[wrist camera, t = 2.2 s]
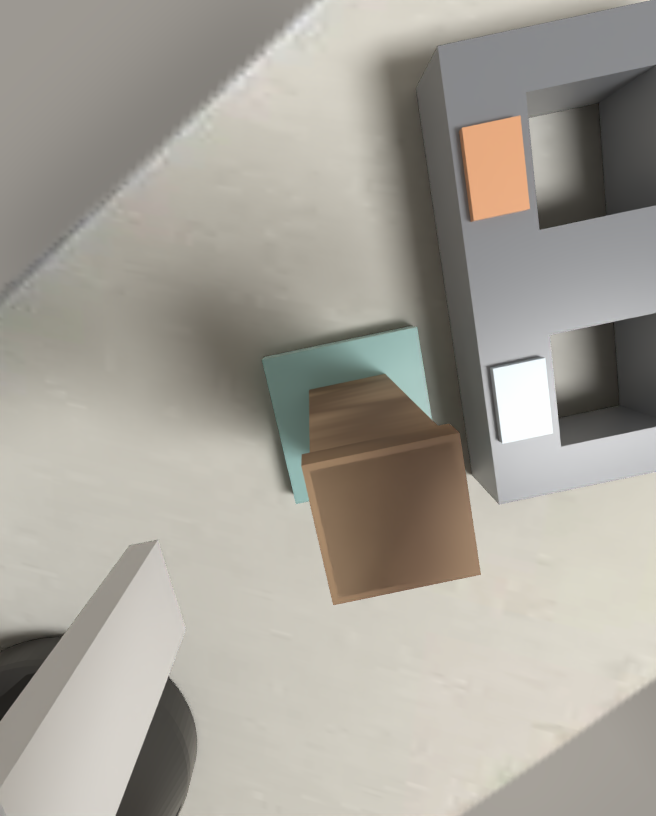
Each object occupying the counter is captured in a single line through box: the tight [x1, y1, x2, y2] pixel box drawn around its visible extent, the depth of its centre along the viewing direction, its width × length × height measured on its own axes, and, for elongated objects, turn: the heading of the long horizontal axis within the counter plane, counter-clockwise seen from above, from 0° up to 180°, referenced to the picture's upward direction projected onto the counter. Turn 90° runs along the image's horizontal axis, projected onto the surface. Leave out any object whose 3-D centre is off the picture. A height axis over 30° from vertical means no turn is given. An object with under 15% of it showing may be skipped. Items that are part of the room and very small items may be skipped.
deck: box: [262, 326, 432, 504], centre depth 26 cm, size 8×8×1 cm
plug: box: [301, 374, 481, 605], centre depth 20 cm, size 4×4×12 cm
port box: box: [416, 0, 656, 504], centre depth 23 cm, size 12×20×4 cm, turn 12°
